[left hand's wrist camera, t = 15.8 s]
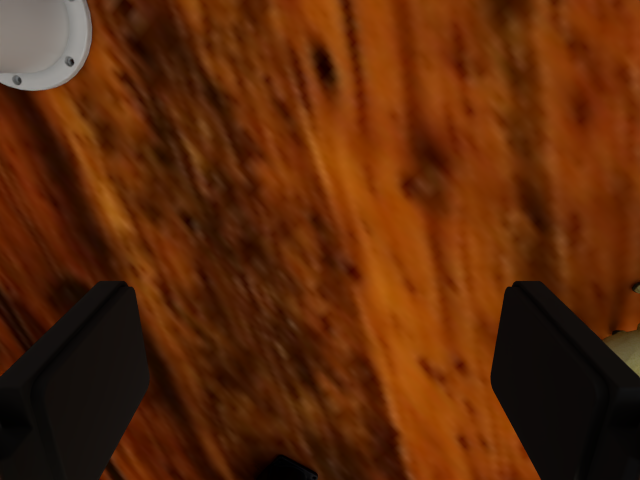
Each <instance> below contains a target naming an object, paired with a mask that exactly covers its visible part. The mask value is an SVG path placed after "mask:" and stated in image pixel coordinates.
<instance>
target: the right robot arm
mask: <svg viewBox="0 0 640 480" xmlns="http://www.w3.org/2000/svg"><path fill="white" fill-rule="evenodd" d="M317 479H318V475H317V473H315V472H313V471H311V470H309V469H307V468H305V467H304V466H302V465H300V464H298V463H296V462H294V461H292V460H290V459H289V458H287V457H285V456H283V455H279V456H278V457H277V458H276V459H275V460H274V461H273V462H272V464H271V465H269V466H267V468H266V469H265V470H264V471H263V472H262V473H261V474H260V475H259V478H258V479H257V480H317Z"/></svg>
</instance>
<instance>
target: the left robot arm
mask: <svg viewBox="0 0 640 480" xmlns="http://www.w3.org/2000/svg"><path fill="white" fill-rule="evenodd" d="M91 41H92V23H91V16H90V11H89V8H88V5H87V1H86V0H0V83H3V84H5V85H7V86H10V87H13V88H17V89H21V90H32V91H36V90H47V89H51V88H55V87H58V86H60V85H62V84H64V83H66V82H68V81H69V80H70V79H72V78H73V77H74V76H75V75H76V74H77V73H78V72H79V70H80V69H81V68H82V66H83V65H84V63H85V61H86V59H87V56H88V54H89V50H90V46H91ZM72 59H73V60H74V64H73V63H72ZM21 80H22V81H21ZM148 385H149V370H148V364H147V358H146V352H145V346H144V340H143V335H142V329H141V323H140V317H139V311H138V305H137V300H136V294H135V290H134V288H133V287H128V285H127V283H126V282H125V281H100V282H98V283H97V284H96V285H95V286H94V287H93V288H92V289H91V290H90V291H89V292H88V293H87V294H86V295H85V296H84V297H83V298H81V299H80V300H79V301H78V302H77V303H76V304H75V305H74V306H73V307H72V308H71V309H70V310H69V311H68V312H67V313H66V314H65V315H64V316H63V317H62V318H61V319H60V320H59V321H58V322H57V323H56V324H55V325H54V326H52V327H51V328H50V329H49V330H48V331H47V332H46V333H45V334H44V335H43V336H42V337H41V338H40V339H39V340H38V341H37V342H36V343H35V344H34V345H33V346H32V347H31V348H30V349H29V350H28V351H27V352H26V353H25V354H23V355H22V356H21V357H20V358H19V359H18V360H17V361H16V362H15V363H14V364H13V365H12V366H11V367H10V368H9V369H8V370H7V371H6V372H5V373H4V374H3V375H2V376H1V377H0V480H99V478H100V476H101V475H102V473H103V471H104V469H105V467H106V465H107V463H108V462H109V460H110V458H111V456H112V454H113V452H114V450H115V449H116V447H117V445H118V443H119V441H120V439H121V437H122V436H123V434H124V432H125V430H126V428H127V426H128V424H129V423H130V421H131V419H132V417H133V415H134V413H135V411H136V409H137V408H138V406H139V404H140V402H141V400H142V398H143V396H144V395H145V393H146V391H147V389H148ZM491 385H492V389H493V391H494V393H495V395H496V396H497V398H498V400H499V402H500V404H501V406H502V408H503V409H504V411H505V413H506V415H507V417H508V419H509V421H510V423H511V424H512V426H513V428H514V430H515V432H516V434H517V436H518V437H519V439H520V441H521V443H522V445H523V447H524V449H525V450H526V452H527V454H528V456H529V458H530V460H531V462H532V463H533V465H534V467H535V469H536V471H537V473H538V475H539V476H540V478H541V480H640V377H639V376H638V375H637V374H636V373H635V372H634V371H633V370H632V369H631V368H630V367H629V366H628V365H627V364H626V363H625V362H624V361H623V360H622V359H621V358H620V357H619V356H618V355H617V354H615V353H614V352H613V351H612V350H611V349H610V348H609V347H608V346H607V345H606V344H605V343H604V342H603V341H602V340H601V339H600V338H599V337H598V336H597V335H596V334H595V333H594V332H593V331H592V330H591V329H590V328H589V327H588V326H586V325H585V324H584V323H583V322H582V321H581V320H580V319H579V318H578V317H577V316H576V315H575V314H574V313H573V312H572V311H571V310H570V309H569V308H568V307H567V306H566V305H565V304H564V303H563V302H562V301H561V300H560V299H559V298H557V297H556V296H555V295H554V294H553V293H552V292H551V291H550V290H549V289H548V288H547V287H546V286H545V285H544V284H543V283H542V282H540V281H515V282H514V283H513V285H512V287H507V288H506V290H505V294H504V300H503V305H502V311H501V317H500V323H499V329H498V335H497V340H496V346H495V352H494V358H493V364H492V370H491Z"/></svg>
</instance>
